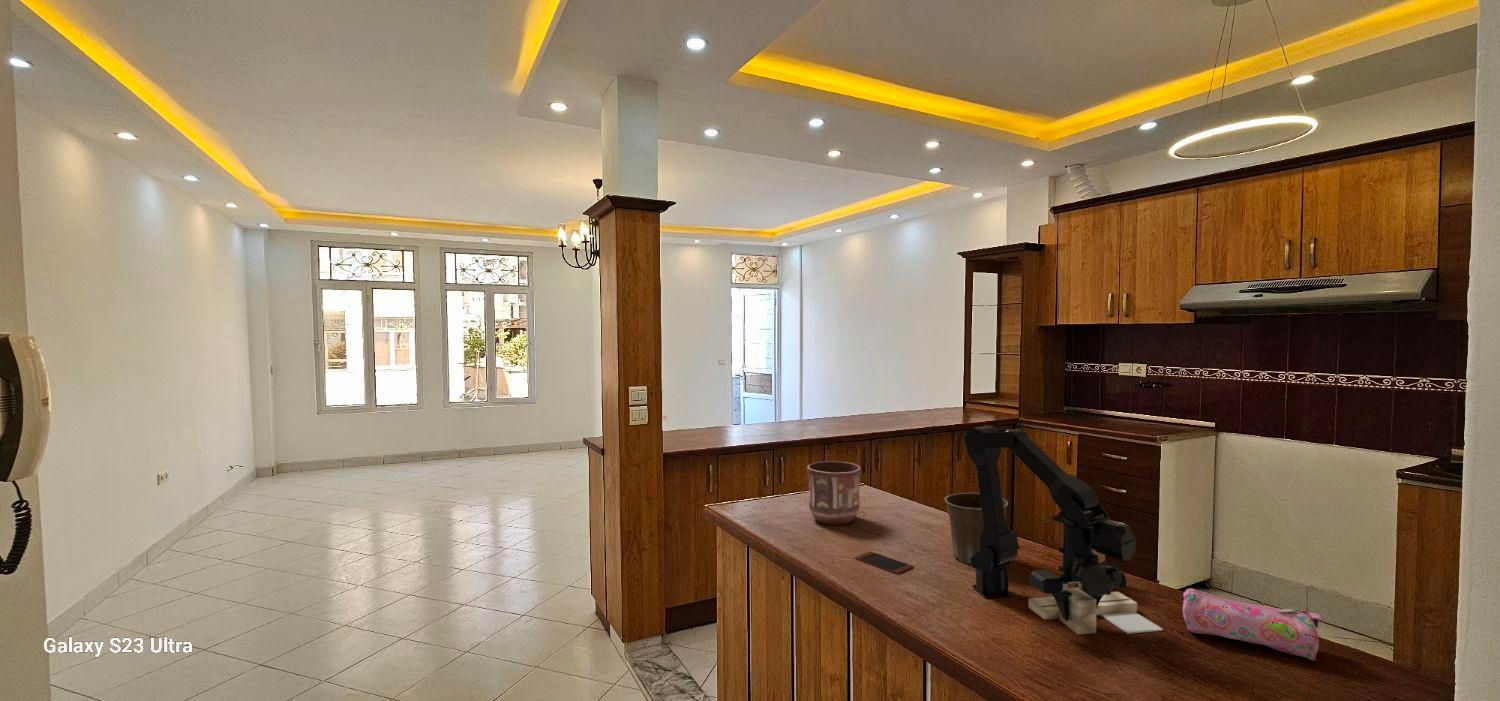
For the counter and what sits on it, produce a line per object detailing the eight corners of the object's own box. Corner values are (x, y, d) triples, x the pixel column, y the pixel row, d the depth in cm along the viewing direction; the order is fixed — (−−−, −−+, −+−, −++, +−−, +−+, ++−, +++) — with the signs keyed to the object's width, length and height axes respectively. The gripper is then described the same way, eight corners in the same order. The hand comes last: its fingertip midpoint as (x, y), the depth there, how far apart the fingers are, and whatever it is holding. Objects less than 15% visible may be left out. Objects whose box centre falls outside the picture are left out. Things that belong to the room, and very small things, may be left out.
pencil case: (1317, 649, 121) (1317, 603, 121) (1324, 670, 114) (1324, 622, 114) (1183, 620, 134) (1183, 578, 134) (1181, 637, 127) (1182, 594, 126)
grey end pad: (1127, 633, 128) (1127, 632, 128) (1101, 615, 136) (1101, 614, 136) (1163, 630, 129) (1163, 629, 129) (1134, 613, 137) (1134, 611, 137)
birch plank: (1044, 619, 135) (1044, 610, 135) (1028, 607, 141) (1028, 598, 141) (1137, 611, 138) (1137, 602, 138) (1117, 600, 144) (1117, 591, 144)
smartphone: (897, 572, 161) (853, 557, 172) (897, 576, 161) (853, 560, 172) (914, 565, 165) (870, 550, 177) (914, 569, 165) (870, 554, 177)
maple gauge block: (1078, 634, 129) (1078, 601, 128) (1060, 621, 135) (1060, 589, 134) (1096, 632, 129) (1096, 599, 129) (1077, 619, 135) (1077, 587, 135)
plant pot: (942, 565, 167) (942, 505, 166) (947, 545, 182) (947, 490, 181) (1008, 573, 161) (1008, 511, 160) (1008, 551, 176) (1007, 495, 175)
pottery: (805, 527, 200) (804, 471, 199) (809, 511, 217) (808, 460, 217) (861, 530, 197) (861, 473, 196) (860, 513, 214) (860, 461, 214)
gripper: (1060, 563, 122) (1060, 641, 123) (1147, 556, 124) (1146, 633, 125) (1028, 543, 133) (1028, 615, 134) (1108, 538, 135) (1108, 609, 136)
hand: (1077, 619), depth 132 cm, fingers open, 5 cm apart
